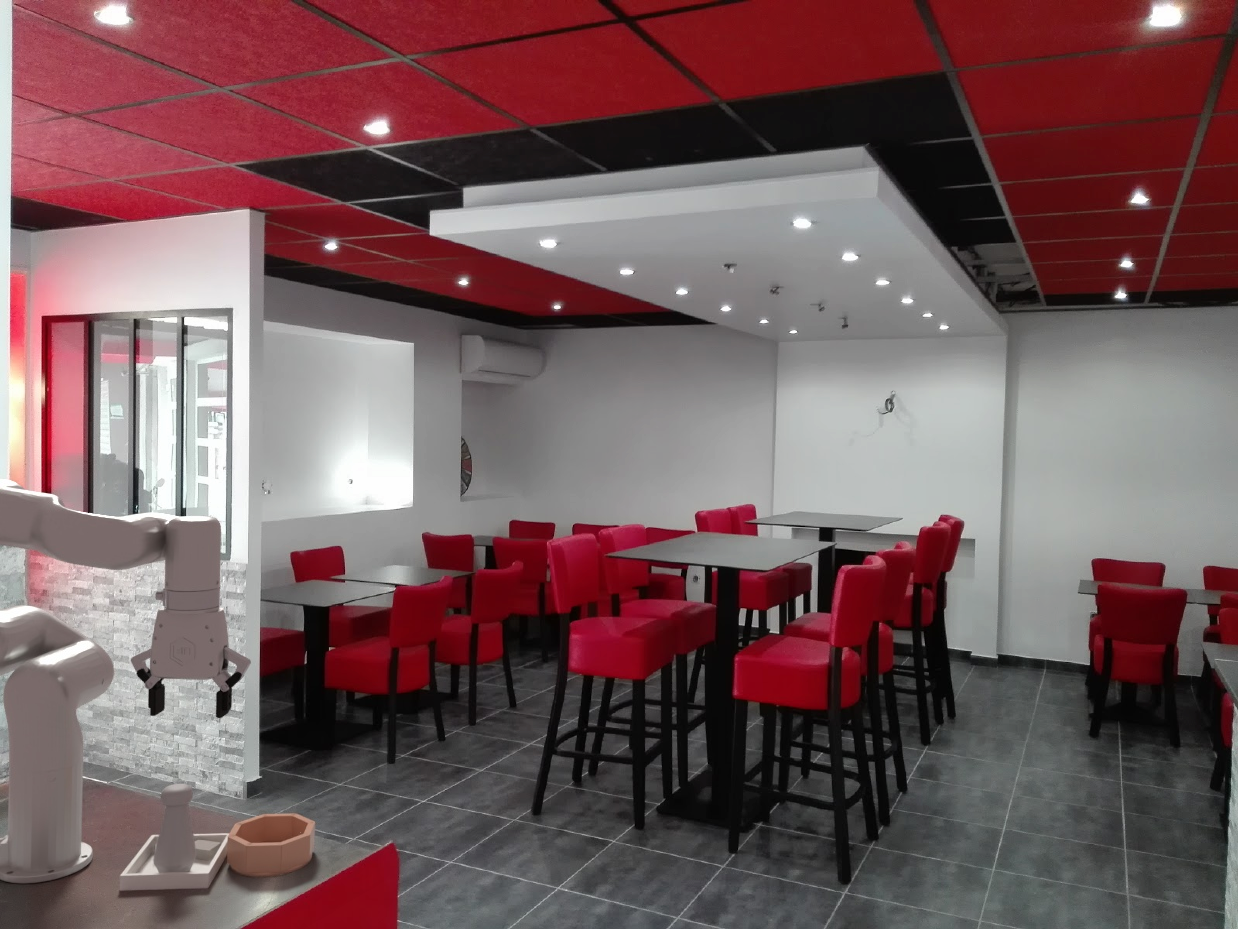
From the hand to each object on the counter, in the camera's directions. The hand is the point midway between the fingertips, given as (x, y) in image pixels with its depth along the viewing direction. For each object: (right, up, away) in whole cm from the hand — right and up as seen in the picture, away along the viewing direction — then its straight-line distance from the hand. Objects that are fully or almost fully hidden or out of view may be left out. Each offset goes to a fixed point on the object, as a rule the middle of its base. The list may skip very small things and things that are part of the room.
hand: (189, 714), depth 145 cm
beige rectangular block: (-1, -23, +6) cm, 24 cm away
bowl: (+10, -24, +6) cm, 27 cm away
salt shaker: (-2, -24, 0) cm, 24 cm away
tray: (-2, -24, +2) cm, 24 cm away
